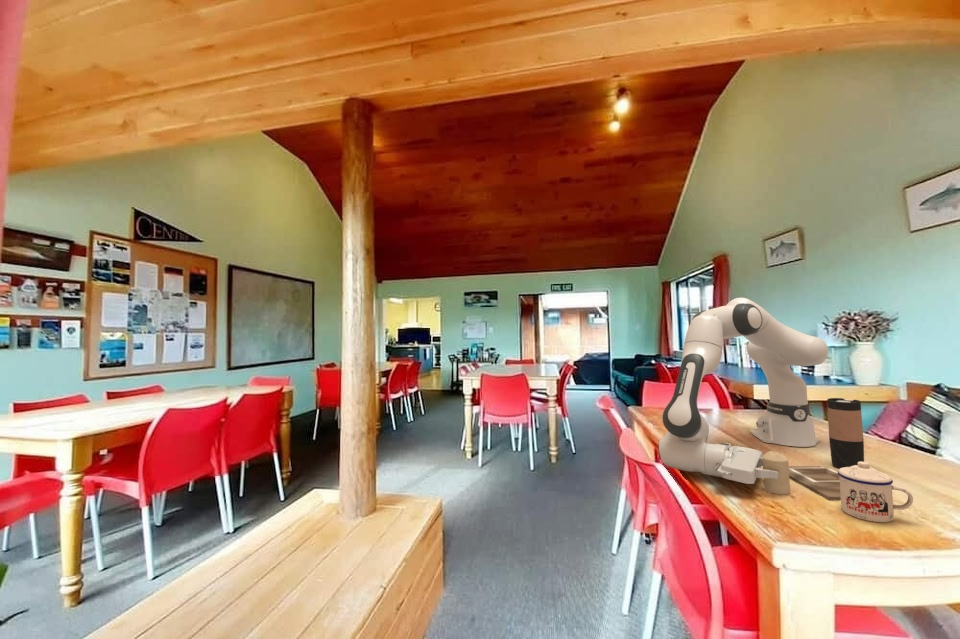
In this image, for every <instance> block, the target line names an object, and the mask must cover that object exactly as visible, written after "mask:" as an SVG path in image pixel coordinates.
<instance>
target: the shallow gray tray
mask: <svg viewBox="0 0 960 639" xmlns="http://www.w3.org/2000/svg"><path fill="white" fill-rule="evenodd" d="M789 480H792V481H794V482H795V483H798V484H800V485H801V486H803V487H805V488H806V489H808V490H810V491H812V492H813V493H815V494H817V495H819V496H821V497H823V498H824V499H826V500H828V501H841V494H840V479H839V475H838V471H836V470H834V469H832V468H830V467H828V466H826V467H825V466H824V467H823V466H821V465H800V466H799V465H797V466H796V465H795V466H792V465H791V466H789Z"/></svg>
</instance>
